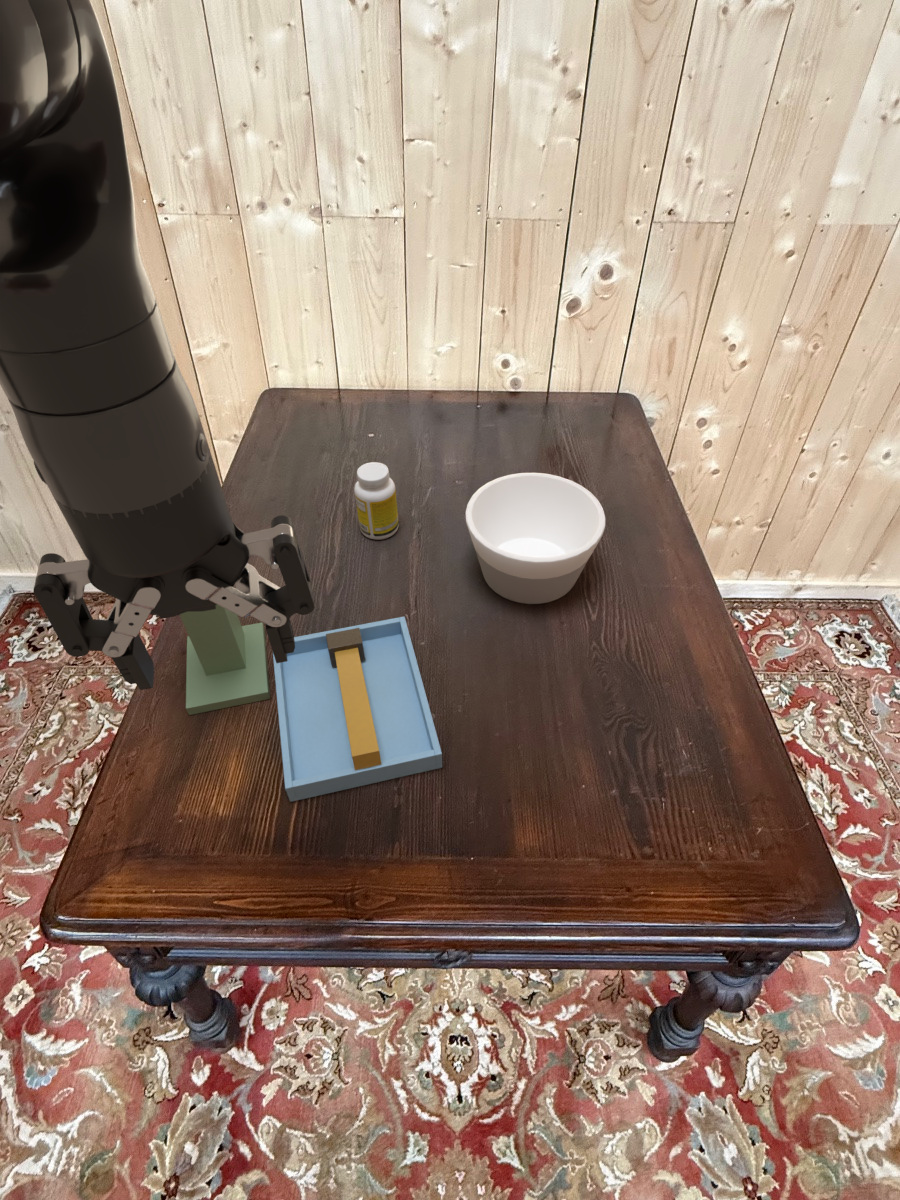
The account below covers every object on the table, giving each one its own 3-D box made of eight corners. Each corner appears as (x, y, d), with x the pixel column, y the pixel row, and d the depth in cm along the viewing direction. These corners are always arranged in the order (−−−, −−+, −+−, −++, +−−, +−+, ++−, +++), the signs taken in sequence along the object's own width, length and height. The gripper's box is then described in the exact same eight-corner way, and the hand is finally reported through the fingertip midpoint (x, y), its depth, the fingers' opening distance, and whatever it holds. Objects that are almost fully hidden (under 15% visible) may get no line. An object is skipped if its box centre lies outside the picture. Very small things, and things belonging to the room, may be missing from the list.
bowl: (568, 635, 94) (578, 579, 86) (442, 591, 100) (441, 535, 92) (611, 549, 106) (623, 493, 98) (496, 514, 112) (499, 458, 104)
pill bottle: (404, 519, 111) (399, 462, 103) (391, 544, 107) (386, 486, 99) (367, 512, 112) (360, 455, 104) (354, 537, 108) (345, 480, 100)
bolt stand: (189, 715, 86) (87, 515, 62) (190, 643, 94) (100, 442, 70) (270, 698, 87) (201, 498, 64) (264, 629, 95) (201, 428, 72)
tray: (290, 802, 78) (285, 788, 75) (276, 656, 92) (271, 641, 90) (442, 767, 80) (442, 753, 78) (405, 631, 95) (404, 616, 92)
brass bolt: (348, 772, 77) (344, 753, 74) (329, 651, 92) (325, 633, 90) (387, 763, 77) (384, 745, 75) (362, 645, 92) (359, 627, 90)
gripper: (272, 399, 37) (317, 605, 49) (-14, 438, 35) (106, 643, 47) (283, 482, 32) (331, 689, 44) (-50, 533, 30) (95, 736, 42)
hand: (215, 665), depth 45 cm, fingers open, 8 cm apart
